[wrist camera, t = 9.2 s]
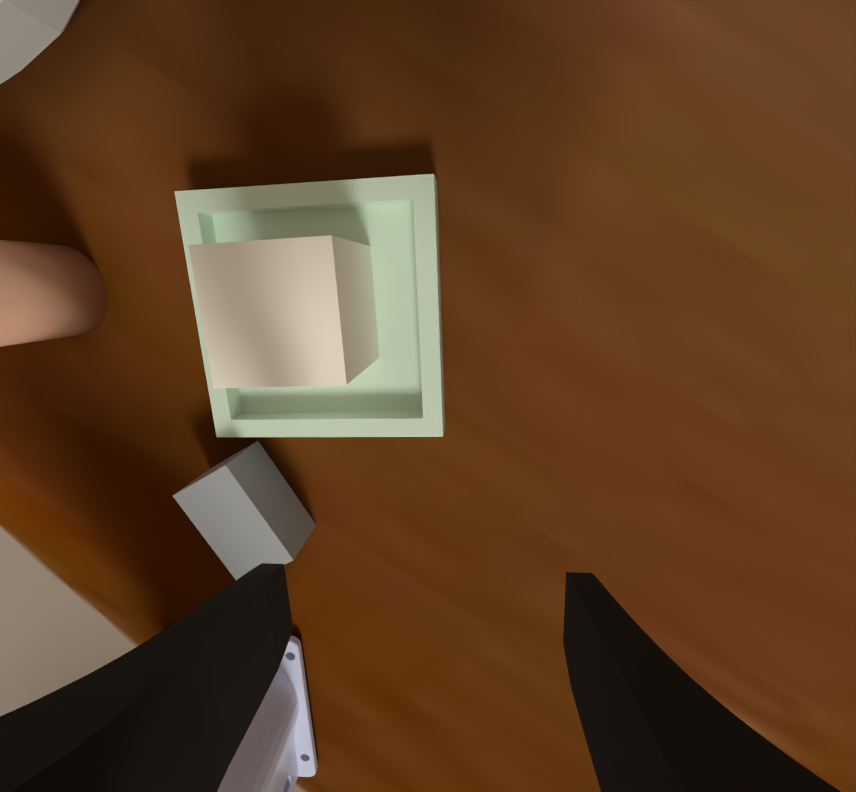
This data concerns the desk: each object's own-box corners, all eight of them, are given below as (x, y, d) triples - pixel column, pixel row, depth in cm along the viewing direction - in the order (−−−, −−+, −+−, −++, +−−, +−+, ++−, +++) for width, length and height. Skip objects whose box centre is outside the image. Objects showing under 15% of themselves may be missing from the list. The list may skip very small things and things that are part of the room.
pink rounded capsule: (115, 334, 20) (5, 351, 16) (37, 336, 21) (-94, 354, 16) (95, 242, 19) (-29, 231, 15) (13, 246, 20) (-134, 237, 15)
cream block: (379, 357, 19) (346, 384, 14) (278, 360, 20) (214, 388, 15) (370, 246, 18) (331, 235, 13) (263, 252, 18) (188, 244, 14)
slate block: (317, 522, 22) (293, 560, 19) (270, 546, 23) (240, 586, 20) (259, 439, 21) (225, 465, 18) (212, 466, 22) (172, 495, 19)
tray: (445, 425, 20) (442, 436, 19) (233, 427, 21) (216, 437, 20) (437, 181, 17) (433, 173, 16) (196, 197, 18) (174, 191, 17)
